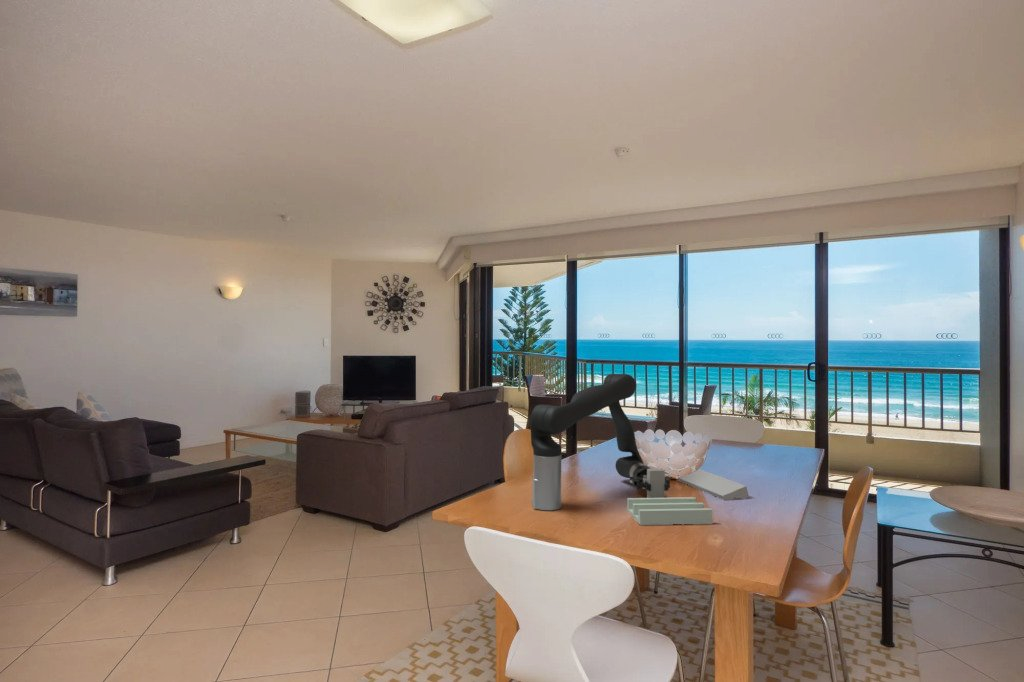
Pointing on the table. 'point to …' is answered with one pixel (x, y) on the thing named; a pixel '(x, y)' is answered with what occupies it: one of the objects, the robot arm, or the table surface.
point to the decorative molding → (715, 485)
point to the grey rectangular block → (656, 483)
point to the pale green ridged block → (668, 511)
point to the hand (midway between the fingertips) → (658, 488)
